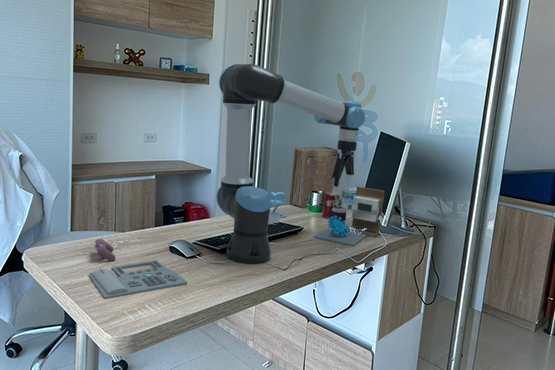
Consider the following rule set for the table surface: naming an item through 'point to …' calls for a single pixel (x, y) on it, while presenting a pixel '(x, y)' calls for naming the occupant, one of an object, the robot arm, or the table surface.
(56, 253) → the table surface
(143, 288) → the office telephone
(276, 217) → the steel block
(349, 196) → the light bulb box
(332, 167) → the book
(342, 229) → the gear
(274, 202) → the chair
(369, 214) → the mounted unit
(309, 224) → the table surface
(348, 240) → the mat
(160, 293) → the table surface
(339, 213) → the mate gourd
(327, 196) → the soda can
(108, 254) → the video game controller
